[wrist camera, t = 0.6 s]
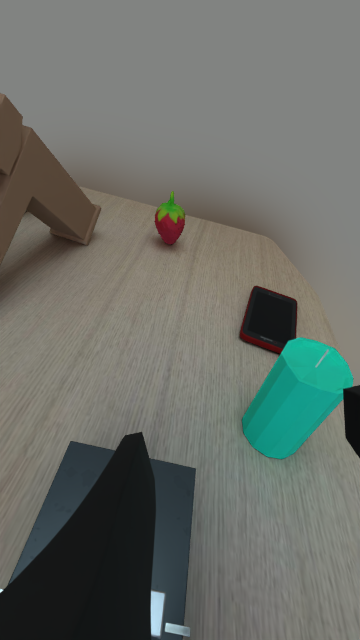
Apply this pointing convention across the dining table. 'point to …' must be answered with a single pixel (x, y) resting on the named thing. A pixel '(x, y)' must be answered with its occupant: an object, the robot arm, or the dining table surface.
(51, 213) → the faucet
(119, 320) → the dining table surface
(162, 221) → the strawberry
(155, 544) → the plate
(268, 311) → the cell phone
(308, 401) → the candle
